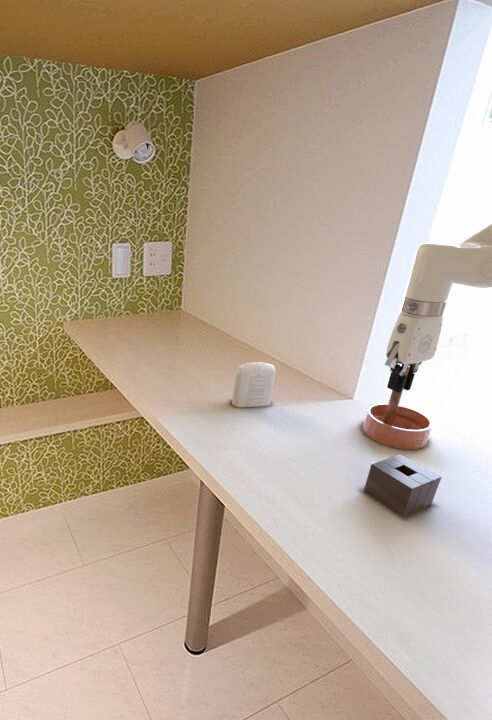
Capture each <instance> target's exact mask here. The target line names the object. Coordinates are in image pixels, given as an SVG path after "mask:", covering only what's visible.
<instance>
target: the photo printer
mask: <svg viewBox="0 0 492 720" xmlns="http://www.w3.org/2000/svg"><path fill="white" fill-rule="evenodd" d="M275 379H276V366H275V365H274V364H271V363H269V362H265V361H264V362H263V361H251V362H246V363H242V364H239V365H238V366H236V369H235V376H234V385H233V391H232V392H233V393H232V400H231V401H232V402H231V403H232V404H231V405H232V406H234V407H236V408H256V407H258V408H259V407H270V406H271V403H272V397H273V392H274V386H275V381H276V380H275Z"/></svg>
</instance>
